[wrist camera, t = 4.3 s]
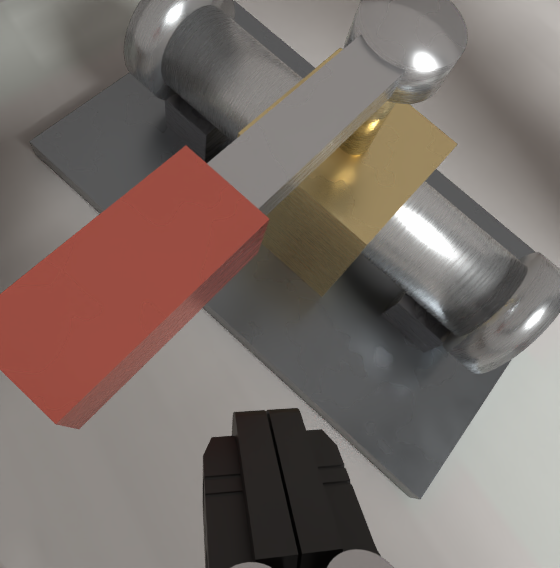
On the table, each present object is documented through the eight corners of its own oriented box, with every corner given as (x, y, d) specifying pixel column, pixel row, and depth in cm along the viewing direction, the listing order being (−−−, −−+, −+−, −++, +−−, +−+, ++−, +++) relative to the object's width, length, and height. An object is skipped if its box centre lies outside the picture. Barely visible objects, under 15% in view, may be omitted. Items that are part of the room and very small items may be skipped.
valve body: (551, 283, 30) (770, 181, 19) (409, 497, 25) (601, 535, 13) (232, 16, 33) (256, -217, 21) (35, 154, 27) (-75, -63, 16)
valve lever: (381, 11, 18) (406, -47, 16) (457, 72, 18) (492, 22, 15) (-14, 338, 12) (-56, 314, 10) (90, 441, 12) (69, 438, 9)
